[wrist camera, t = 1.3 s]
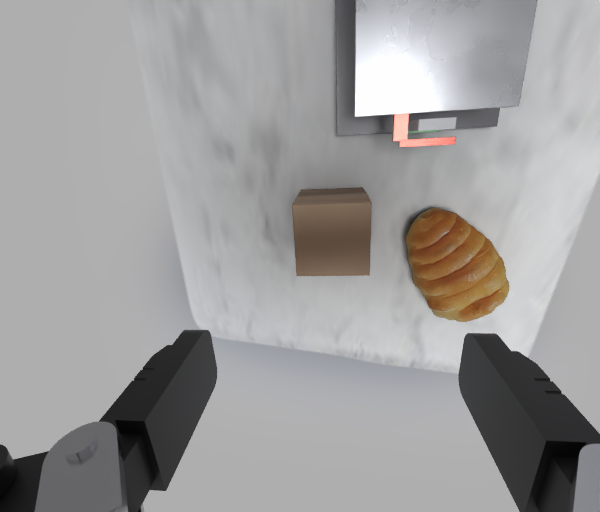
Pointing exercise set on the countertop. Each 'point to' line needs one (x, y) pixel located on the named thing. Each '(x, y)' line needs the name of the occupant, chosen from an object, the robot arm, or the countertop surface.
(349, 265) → the walnut block
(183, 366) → the robot arm
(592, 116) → the countertop surface
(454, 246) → the pastry
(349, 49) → the base
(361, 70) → the pan
